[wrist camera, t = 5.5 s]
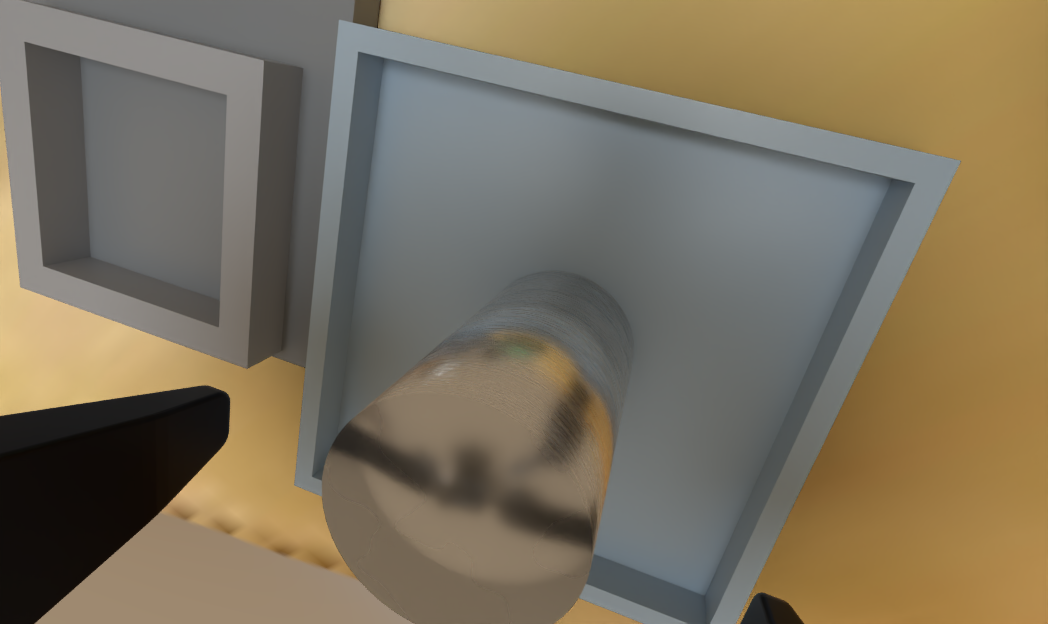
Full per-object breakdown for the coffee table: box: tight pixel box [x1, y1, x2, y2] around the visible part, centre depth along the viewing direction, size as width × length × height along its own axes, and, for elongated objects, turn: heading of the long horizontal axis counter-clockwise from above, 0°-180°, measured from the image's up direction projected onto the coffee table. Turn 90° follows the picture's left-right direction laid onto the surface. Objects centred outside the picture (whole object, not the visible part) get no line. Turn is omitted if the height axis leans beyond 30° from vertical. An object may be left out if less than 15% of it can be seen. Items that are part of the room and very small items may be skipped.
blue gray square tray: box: [294, 20, 961, 624], centre depth 15 cm, size 14×14×2 cm
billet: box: [322, 271, 634, 624], centre depth 12 cm, size 4×4×8 cm
